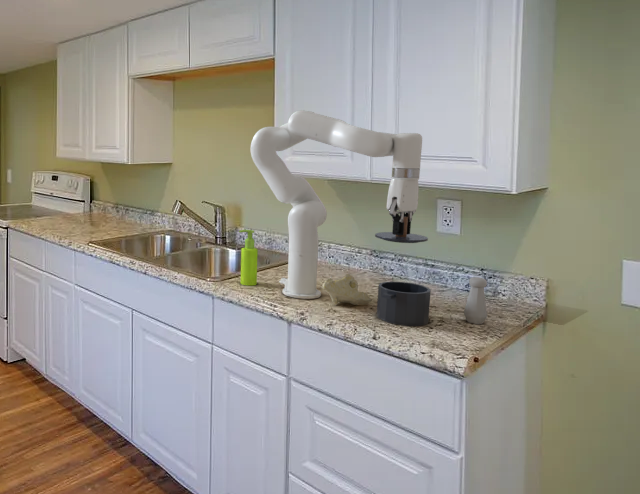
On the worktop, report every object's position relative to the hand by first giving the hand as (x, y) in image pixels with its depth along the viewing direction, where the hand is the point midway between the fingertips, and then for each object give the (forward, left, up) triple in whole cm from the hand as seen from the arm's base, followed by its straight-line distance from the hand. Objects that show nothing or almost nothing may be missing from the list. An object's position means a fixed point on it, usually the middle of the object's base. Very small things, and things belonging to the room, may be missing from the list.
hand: (401, 233), depth 169 cm
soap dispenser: (-49, -13, -24) cm, 56 cm away
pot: (+6, -7, -24) cm, 26 cm away
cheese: (-12, -9, -24) cm, 29 cm away
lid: (0, 0, -1) cm, 1 cm away
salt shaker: (+20, +7, -24) cm, 32 cm away
